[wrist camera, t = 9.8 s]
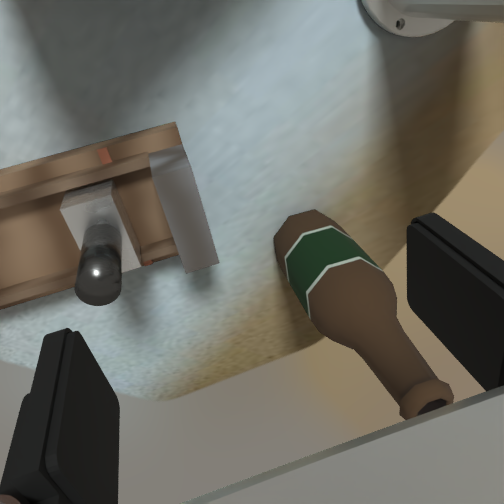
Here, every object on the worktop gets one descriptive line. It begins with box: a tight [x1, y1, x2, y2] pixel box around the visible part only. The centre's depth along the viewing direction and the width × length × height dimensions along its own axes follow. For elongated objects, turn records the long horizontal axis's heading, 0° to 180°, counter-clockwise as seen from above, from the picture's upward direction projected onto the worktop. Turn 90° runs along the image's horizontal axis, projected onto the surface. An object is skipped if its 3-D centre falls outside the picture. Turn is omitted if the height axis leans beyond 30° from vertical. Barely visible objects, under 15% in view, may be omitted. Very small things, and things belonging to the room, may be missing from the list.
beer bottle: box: [274, 210, 454, 420], centre depth 38 cm, size 8×8×24 cm
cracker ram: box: [60, 177, 141, 306], centre depth 34 cm, size 4×7×11 cm, turn 12°
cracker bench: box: [0, 122, 219, 310], centre depth 37 cm, size 24×12×8 cm, turn 102°
